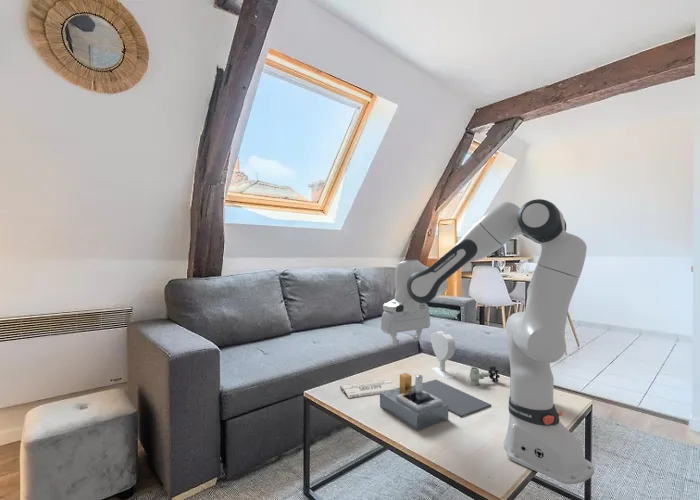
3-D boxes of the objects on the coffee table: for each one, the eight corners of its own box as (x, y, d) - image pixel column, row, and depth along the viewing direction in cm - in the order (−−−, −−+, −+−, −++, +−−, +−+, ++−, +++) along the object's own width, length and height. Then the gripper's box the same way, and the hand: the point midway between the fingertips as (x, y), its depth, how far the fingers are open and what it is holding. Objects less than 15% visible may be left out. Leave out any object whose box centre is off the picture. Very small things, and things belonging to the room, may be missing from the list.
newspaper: (386, 381, 158) (387, 376, 157) (399, 395, 146) (399, 389, 146) (336, 387, 150) (336, 382, 150) (346, 403, 139) (346, 397, 138)
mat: (491, 406, 133) (491, 404, 133) (460, 417, 125) (460, 415, 125) (435, 380, 157) (435, 379, 157) (407, 388, 148) (407, 387, 148)
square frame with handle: (442, 404, 123) (442, 383, 123) (417, 412, 117) (417, 390, 117) (414, 389, 135) (414, 371, 135) (390, 396, 129) (390, 376, 129)
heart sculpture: (456, 377, 160) (456, 337, 160) (446, 379, 159) (446, 338, 159) (438, 366, 175) (439, 329, 175) (429, 367, 174) (429, 329, 174)
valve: (474, 387, 150) (499, 384, 153) (474, 371, 150) (500, 369, 153) (465, 381, 157) (489, 378, 160) (466, 366, 157) (490, 363, 160)
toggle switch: (448, 419, 123) (448, 378, 122) (417, 430, 116) (417, 387, 115) (409, 397, 140) (409, 361, 140) (379, 406, 133) (380, 368, 132)
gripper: (422, 301, 138) (421, 337, 139) (378, 305, 128) (378, 344, 128) (434, 303, 133) (433, 341, 133) (389, 308, 122) (389, 349, 123)
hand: (406, 342), depth 131 cm, fingers open, 8 cm apart
